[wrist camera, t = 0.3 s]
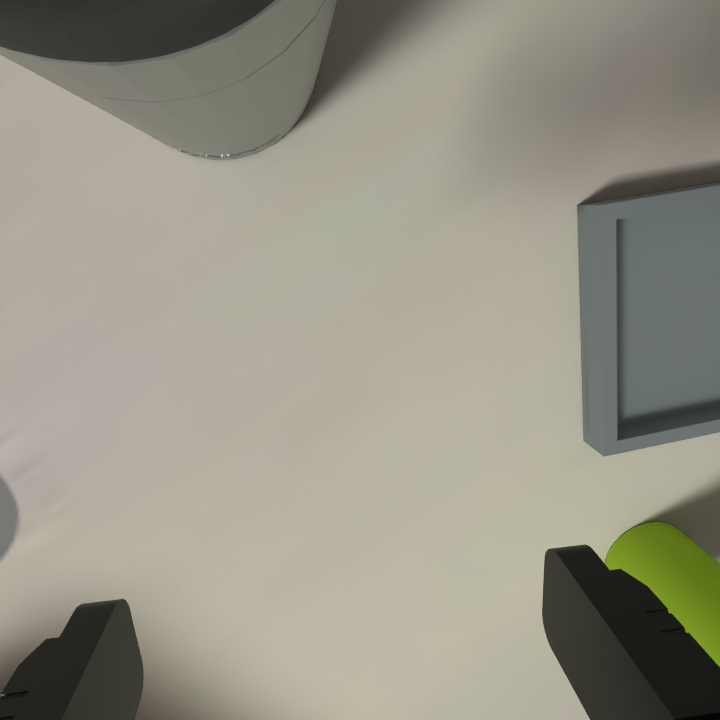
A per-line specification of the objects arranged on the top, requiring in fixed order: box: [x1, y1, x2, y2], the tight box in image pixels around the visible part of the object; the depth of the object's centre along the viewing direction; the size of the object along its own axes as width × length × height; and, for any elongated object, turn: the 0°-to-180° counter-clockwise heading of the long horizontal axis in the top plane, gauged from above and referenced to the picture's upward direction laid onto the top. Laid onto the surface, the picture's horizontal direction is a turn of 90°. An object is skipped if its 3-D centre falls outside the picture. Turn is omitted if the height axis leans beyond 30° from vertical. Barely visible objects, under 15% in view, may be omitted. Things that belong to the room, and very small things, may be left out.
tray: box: [577, 182, 720, 456], centre depth 29 cm, size 14×13×2 cm
